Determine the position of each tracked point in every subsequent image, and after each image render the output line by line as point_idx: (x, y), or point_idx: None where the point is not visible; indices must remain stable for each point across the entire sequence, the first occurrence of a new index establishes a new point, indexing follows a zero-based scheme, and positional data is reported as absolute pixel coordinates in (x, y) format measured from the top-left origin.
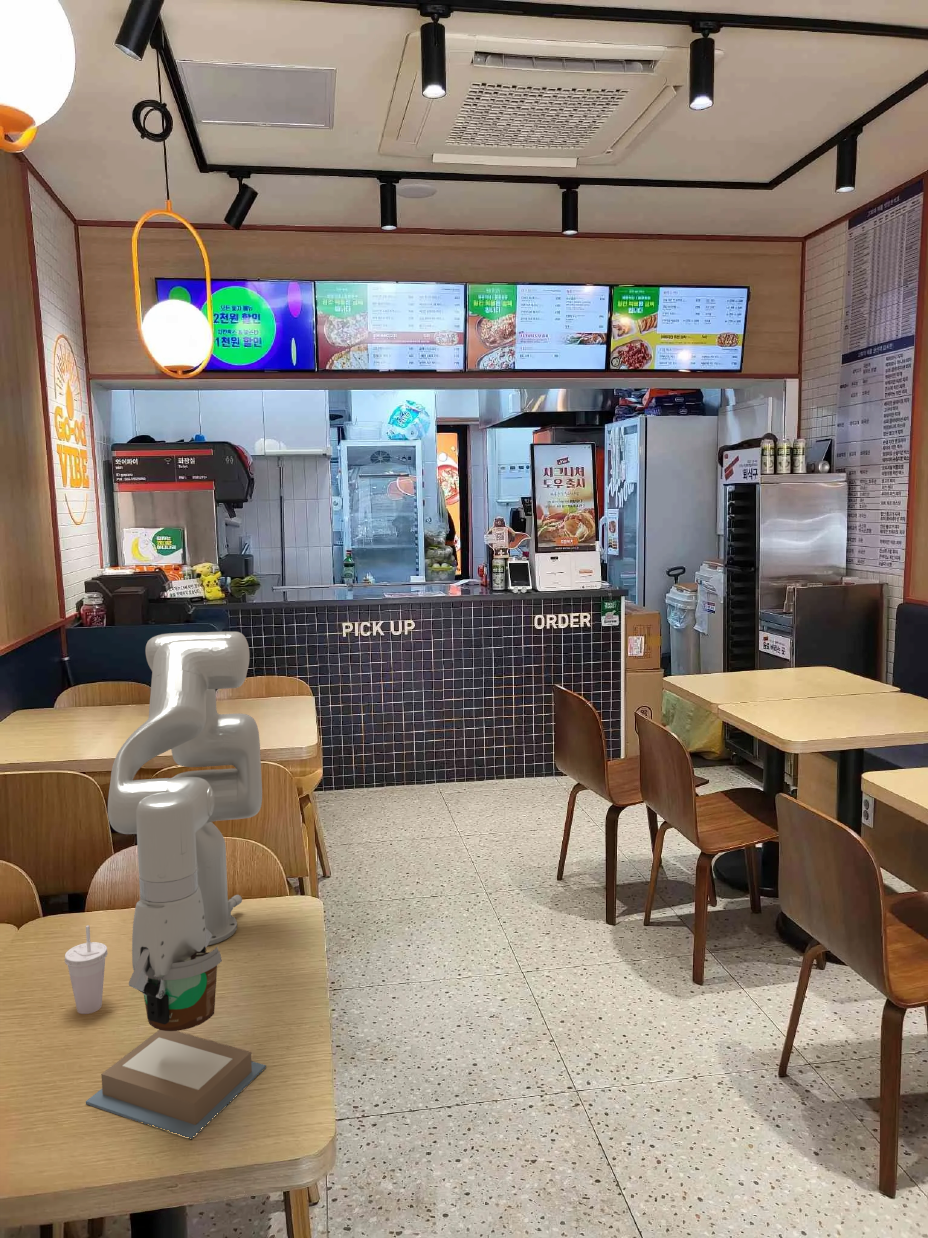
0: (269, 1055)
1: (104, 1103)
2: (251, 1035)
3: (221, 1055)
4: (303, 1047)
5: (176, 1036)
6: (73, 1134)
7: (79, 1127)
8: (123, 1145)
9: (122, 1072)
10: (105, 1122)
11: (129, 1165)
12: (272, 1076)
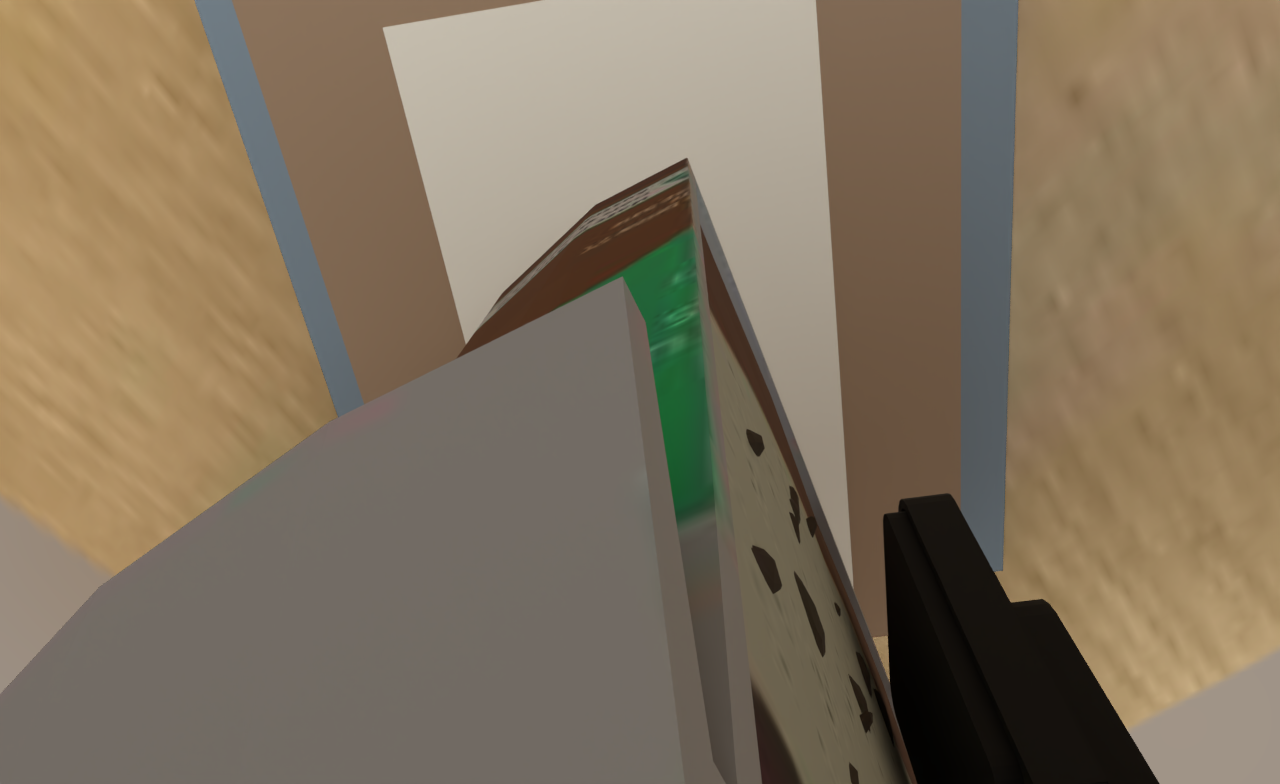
0: (1105, 505)
1: (246, 60)
2: (1262, 288)
3: (851, 525)
4: (1231, 597)
5: (896, 78)
6: (8, 116)
7: (58, 91)
8: (183, 416)
9: (345, 97)
10: (193, 190)
11: (144, 535)
12: None
